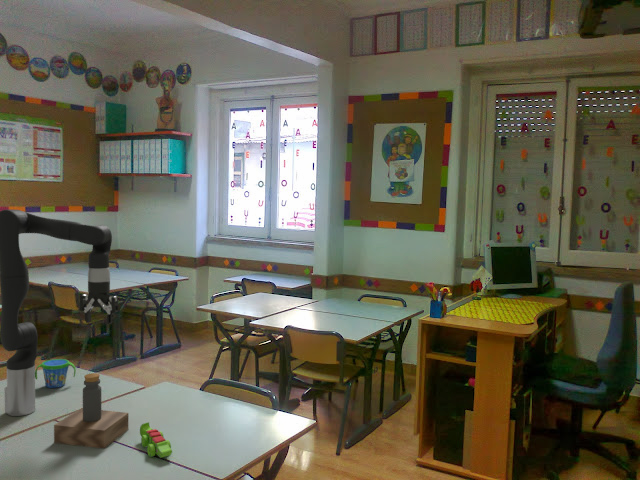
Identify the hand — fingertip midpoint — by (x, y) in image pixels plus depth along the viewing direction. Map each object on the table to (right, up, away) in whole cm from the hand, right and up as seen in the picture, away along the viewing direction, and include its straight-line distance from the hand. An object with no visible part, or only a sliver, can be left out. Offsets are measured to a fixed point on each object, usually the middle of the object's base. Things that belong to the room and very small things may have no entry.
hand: (99, 323), depth 203 cm
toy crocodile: (+29, -37, -25) cm, 54 cm away
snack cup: (-31, -31, +30) cm, 53 cm away
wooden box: (+5, -36, -17) cm, 40 cm away
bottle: (+5, -30, -18) cm, 35 cm away
